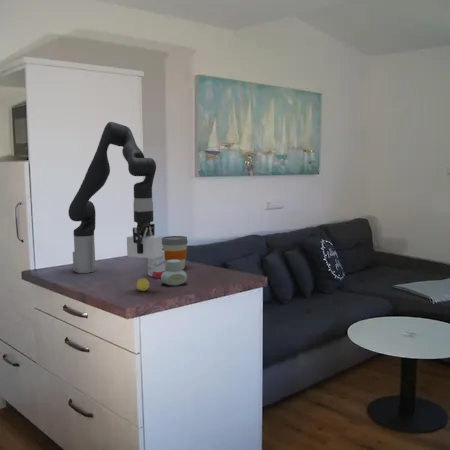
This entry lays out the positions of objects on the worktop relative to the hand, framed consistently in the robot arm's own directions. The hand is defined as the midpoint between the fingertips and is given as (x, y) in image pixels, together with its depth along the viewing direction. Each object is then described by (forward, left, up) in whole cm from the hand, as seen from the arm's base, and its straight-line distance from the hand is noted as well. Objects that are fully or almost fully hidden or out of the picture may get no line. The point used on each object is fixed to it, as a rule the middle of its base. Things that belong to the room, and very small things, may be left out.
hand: (144, 251), depth 199 cm
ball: (-1, 0, -13) cm, 13 cm away
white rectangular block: (0, 0, -2) cm, 2 cm away
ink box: (-8, +26, -16) cm, 32 cm away
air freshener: (+6, +14, -16) cm, 22 cm away
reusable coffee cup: (-7, +44, -16) cm, 47 cm away
